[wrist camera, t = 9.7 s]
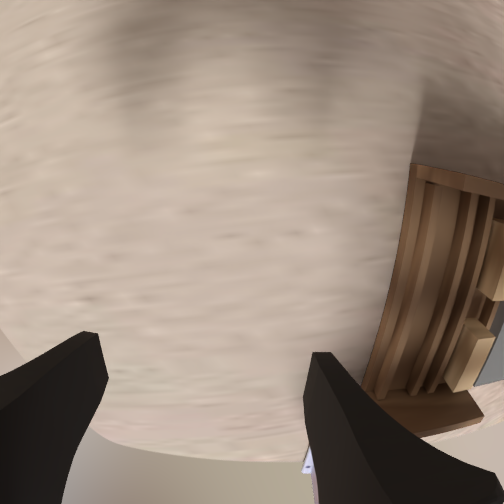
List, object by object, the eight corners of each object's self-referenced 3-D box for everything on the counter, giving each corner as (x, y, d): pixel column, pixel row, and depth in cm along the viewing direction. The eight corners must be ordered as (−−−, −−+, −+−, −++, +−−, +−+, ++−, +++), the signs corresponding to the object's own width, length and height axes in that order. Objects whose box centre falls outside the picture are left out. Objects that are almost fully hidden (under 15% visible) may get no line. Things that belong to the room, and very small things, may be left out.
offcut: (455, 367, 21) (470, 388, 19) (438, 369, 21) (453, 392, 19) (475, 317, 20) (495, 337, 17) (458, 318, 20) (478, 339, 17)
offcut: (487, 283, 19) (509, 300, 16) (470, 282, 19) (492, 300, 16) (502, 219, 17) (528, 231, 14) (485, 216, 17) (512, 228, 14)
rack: (452, 380, 23) (480, 422, 18) (359, 390, 23) (378, 445, 18) (511, 187, 17) (565, 204, 12) (410, 163, 17) (465, 173, 12)
